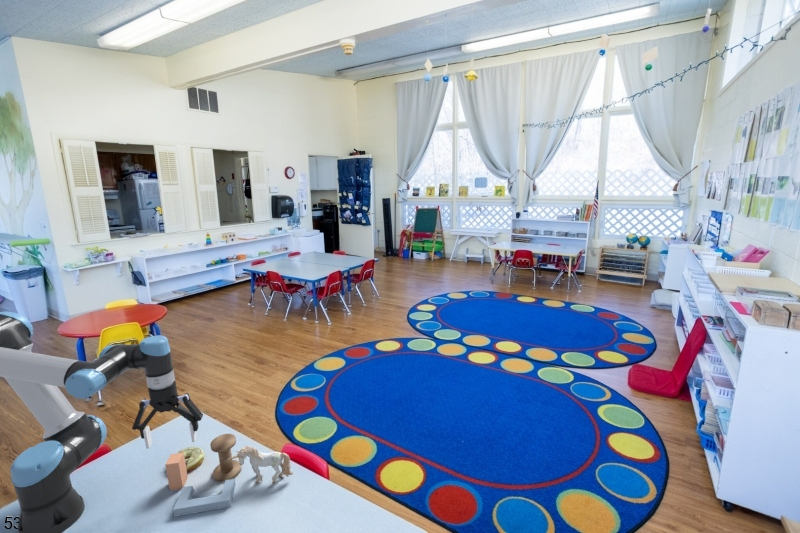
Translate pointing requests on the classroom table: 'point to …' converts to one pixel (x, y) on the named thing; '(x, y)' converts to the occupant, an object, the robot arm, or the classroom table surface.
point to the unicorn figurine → (265, 461)
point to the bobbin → (225, 458)
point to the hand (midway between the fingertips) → (172, 442)
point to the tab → (176, 471)
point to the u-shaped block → (204, 500)
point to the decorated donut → (192, 457)
